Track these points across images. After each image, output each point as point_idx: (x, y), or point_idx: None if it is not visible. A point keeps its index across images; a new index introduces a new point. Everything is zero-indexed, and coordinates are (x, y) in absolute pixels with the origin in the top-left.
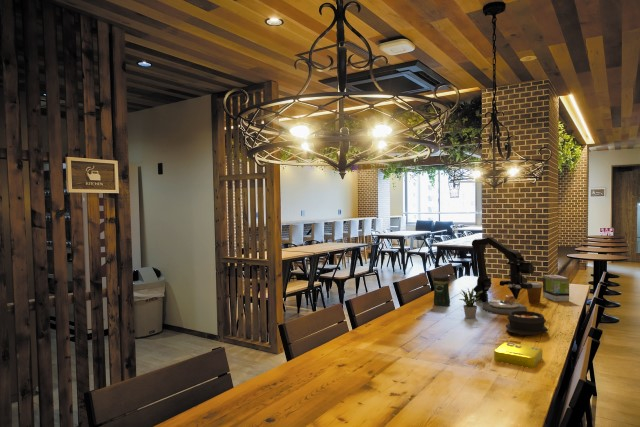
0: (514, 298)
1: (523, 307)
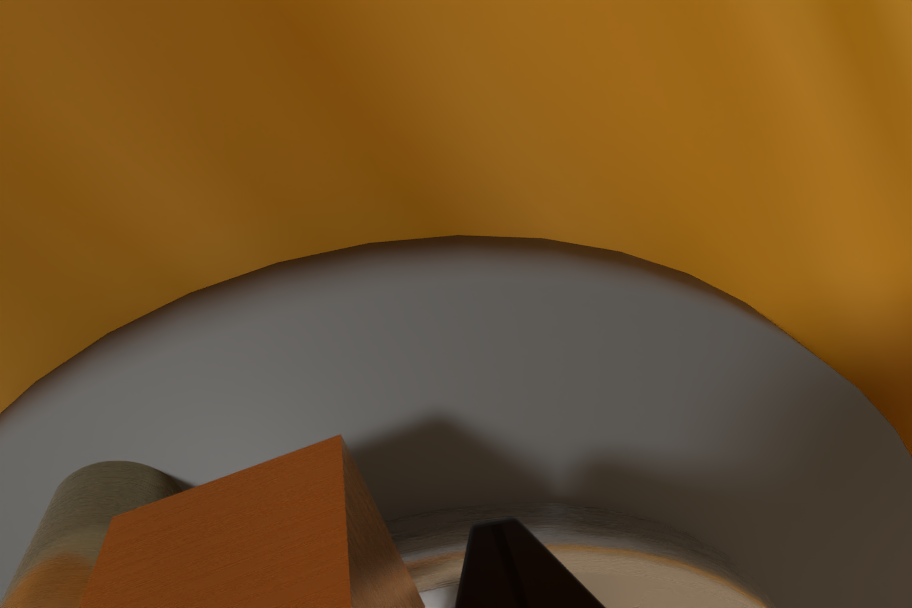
0: (364, 540)
1: (823, 479)
